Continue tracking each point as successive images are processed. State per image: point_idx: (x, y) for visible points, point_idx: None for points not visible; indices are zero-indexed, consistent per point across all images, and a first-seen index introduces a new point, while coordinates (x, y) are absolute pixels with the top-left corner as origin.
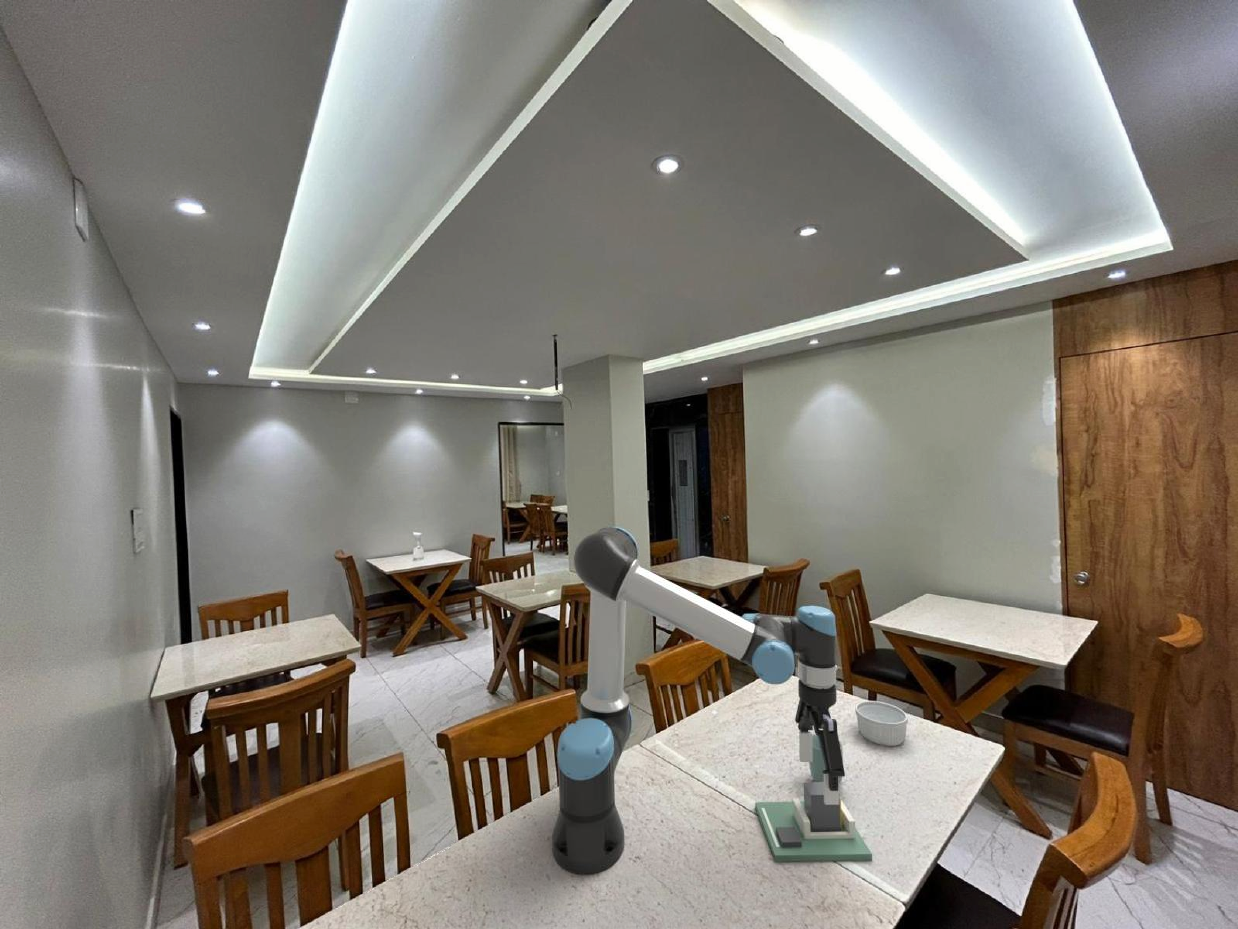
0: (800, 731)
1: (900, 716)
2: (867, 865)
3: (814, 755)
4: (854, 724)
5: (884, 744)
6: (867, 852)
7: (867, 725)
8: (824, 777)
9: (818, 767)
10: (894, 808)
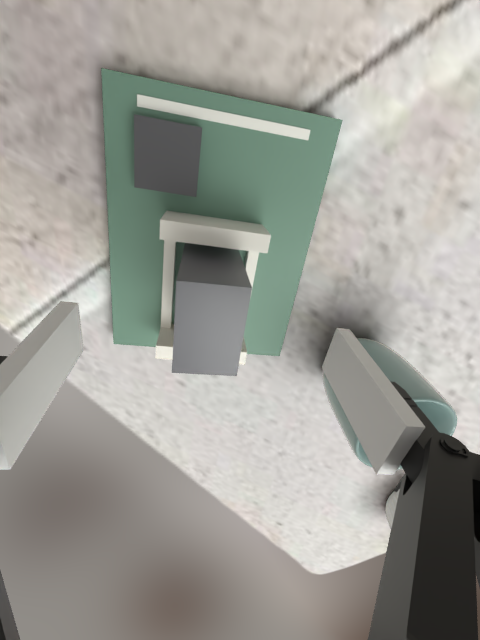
0: (432, 428)
1: None
2: (103, 320)
3: None
4: None
5: (396, 492)
6: (117, 337)
7: None
8: (3, 376)
9: None
10: (247, 434)
